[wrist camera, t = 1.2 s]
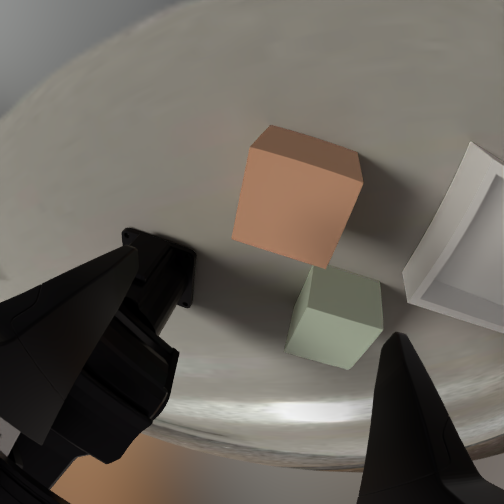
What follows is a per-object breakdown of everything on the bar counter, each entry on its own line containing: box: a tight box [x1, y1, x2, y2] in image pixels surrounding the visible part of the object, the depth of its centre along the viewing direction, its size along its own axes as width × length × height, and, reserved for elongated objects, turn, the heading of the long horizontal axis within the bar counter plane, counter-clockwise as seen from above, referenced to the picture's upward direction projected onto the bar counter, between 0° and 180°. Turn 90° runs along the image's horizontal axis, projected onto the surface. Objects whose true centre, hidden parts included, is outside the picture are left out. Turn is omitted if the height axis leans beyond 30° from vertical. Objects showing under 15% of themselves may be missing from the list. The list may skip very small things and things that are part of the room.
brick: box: [232, 125, 363, 269], centre depth 15 cm, size 5×5×4 cm
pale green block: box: [284, 265, 384, 370], centre depth 20 cm, size 5×5×4 cm
